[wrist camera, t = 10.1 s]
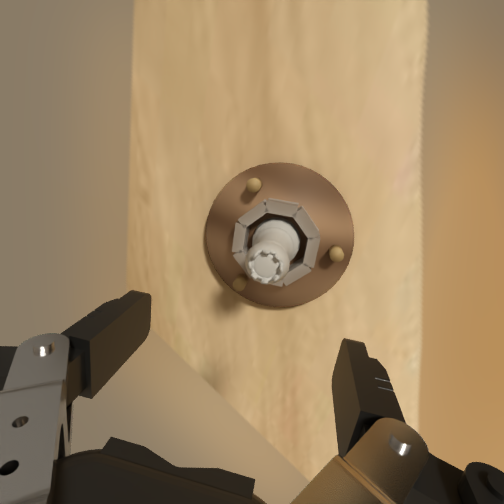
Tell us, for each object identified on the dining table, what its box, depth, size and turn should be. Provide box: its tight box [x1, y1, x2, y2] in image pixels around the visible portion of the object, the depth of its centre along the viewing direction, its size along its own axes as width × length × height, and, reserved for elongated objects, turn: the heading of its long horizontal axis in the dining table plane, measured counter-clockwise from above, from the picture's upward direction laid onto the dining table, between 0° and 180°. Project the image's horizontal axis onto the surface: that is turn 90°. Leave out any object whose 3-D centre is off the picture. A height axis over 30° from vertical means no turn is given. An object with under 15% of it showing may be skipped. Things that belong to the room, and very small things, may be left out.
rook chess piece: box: [245, 217, 301, 285], centre depth 24 cm, size 4×4×8 cm
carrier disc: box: [206, 163, 354, 307], centre depth 28 cm, size 14×14×3 cm
